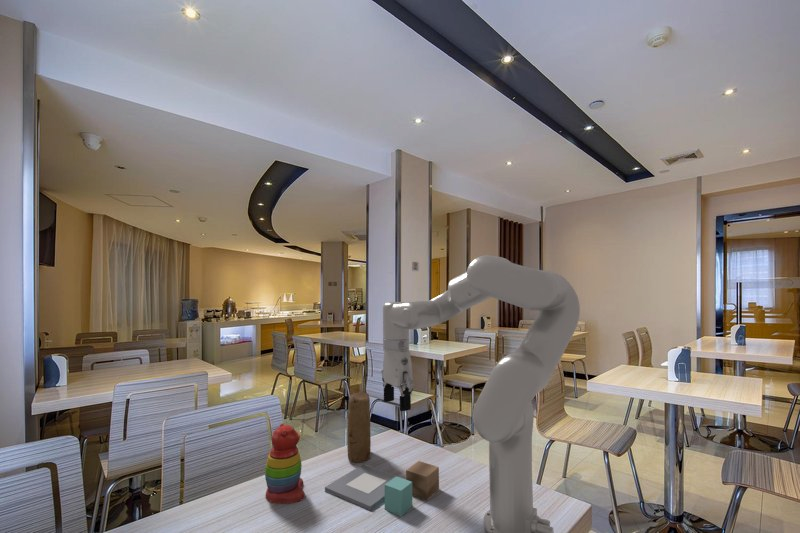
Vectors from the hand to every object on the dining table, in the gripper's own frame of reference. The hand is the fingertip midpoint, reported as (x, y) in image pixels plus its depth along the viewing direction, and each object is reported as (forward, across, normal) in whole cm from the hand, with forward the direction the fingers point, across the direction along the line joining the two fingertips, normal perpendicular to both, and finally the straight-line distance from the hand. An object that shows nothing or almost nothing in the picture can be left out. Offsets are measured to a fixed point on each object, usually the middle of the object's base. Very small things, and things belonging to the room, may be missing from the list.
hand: (396, 405), depth 106 cm
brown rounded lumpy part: (+22, +21, +3) cm, 30 cm away
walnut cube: (+22, -7, -4) cm, 23 cm away
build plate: (+22, +3, +8) cm, 23 cm away
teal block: (+22, -10, +5) cm, 25 cm away
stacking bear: (+22, +10, +29) cm, 38 cm away
